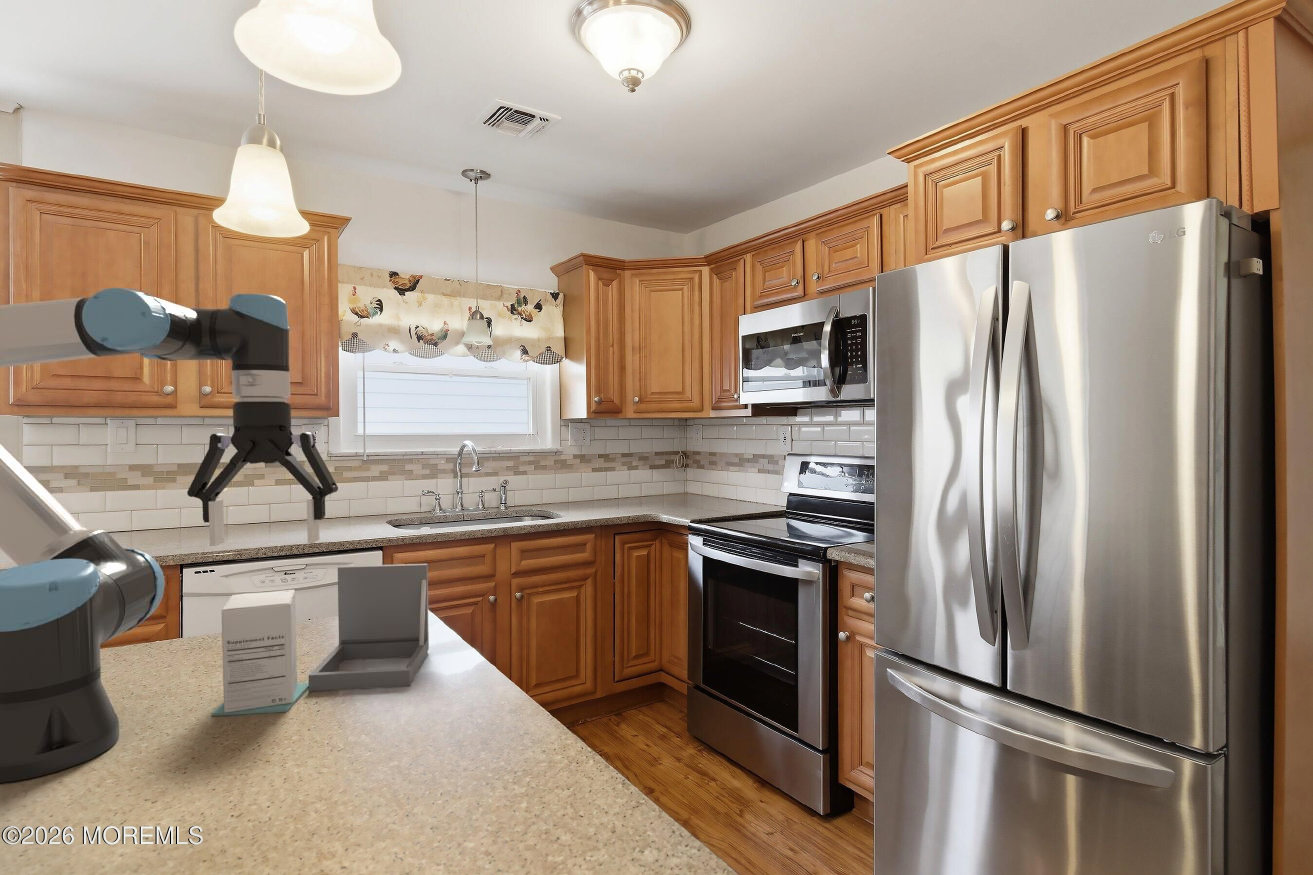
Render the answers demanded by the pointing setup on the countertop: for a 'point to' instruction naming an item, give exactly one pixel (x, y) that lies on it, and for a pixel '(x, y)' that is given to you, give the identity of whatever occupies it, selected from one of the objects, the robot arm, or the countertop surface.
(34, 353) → the robot arm
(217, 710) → the mat
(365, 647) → the case
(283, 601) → the supplement box
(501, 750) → the countertop surface
